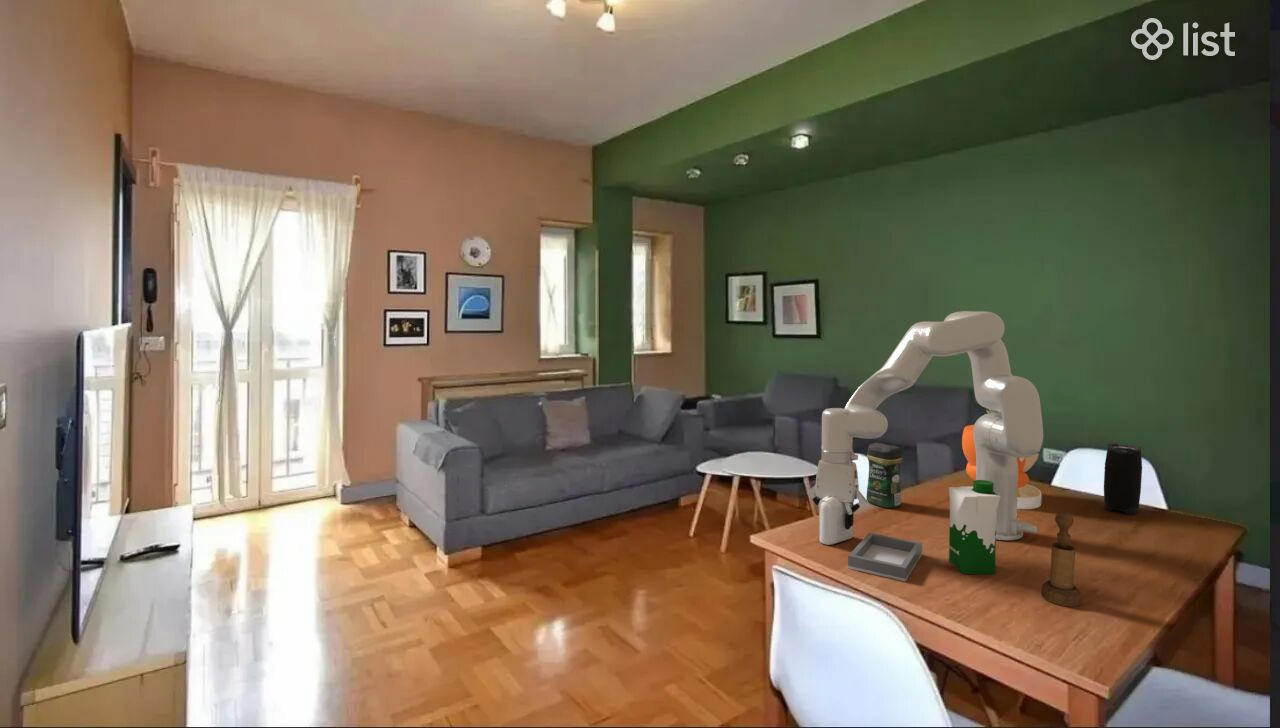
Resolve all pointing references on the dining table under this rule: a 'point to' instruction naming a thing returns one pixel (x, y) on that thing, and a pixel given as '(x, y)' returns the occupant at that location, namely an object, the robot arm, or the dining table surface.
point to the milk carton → (973, 528)
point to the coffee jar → (884, 475)
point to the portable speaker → (1122, 478)
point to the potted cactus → (1026, 493)
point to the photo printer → (833, 521)
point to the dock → (885, 556)
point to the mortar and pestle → (1062, 567)
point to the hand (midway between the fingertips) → (836, 524)
